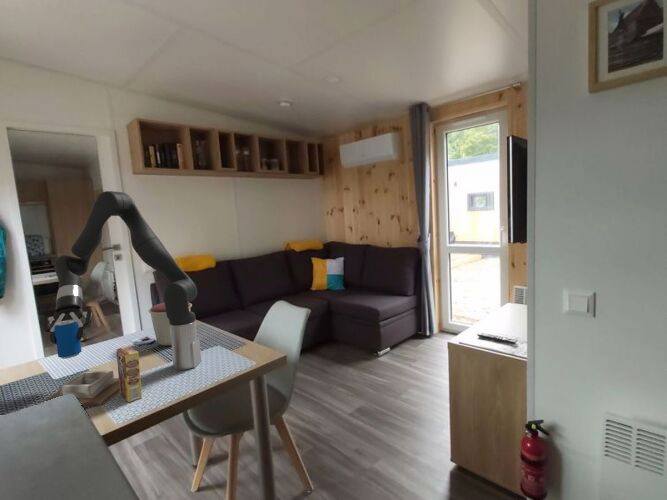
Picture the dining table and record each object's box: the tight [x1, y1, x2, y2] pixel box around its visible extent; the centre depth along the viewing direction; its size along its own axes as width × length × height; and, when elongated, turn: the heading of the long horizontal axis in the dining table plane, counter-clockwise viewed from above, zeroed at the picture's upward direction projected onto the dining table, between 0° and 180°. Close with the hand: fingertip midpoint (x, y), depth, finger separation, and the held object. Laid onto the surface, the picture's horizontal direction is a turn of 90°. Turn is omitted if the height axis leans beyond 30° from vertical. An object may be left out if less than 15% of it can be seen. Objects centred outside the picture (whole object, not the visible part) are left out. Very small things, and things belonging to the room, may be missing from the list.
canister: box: [148, 302, 193, 347], centre depth 157 cm, size 18×18×21 cm
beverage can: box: [54, 320, 83, 360], centre depth 117 cm, size 6×6×12 cm
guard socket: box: [39, 370, 120, 407], centre depth 112 cm, size 20×16×5 cm
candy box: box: [116, 345, 143, 403], centre depth 109 cm, size 9×4×15 cm, turn 47°
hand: (67, 340), depth 115 cm, fingers closed on beverage can, 6 cm apart
